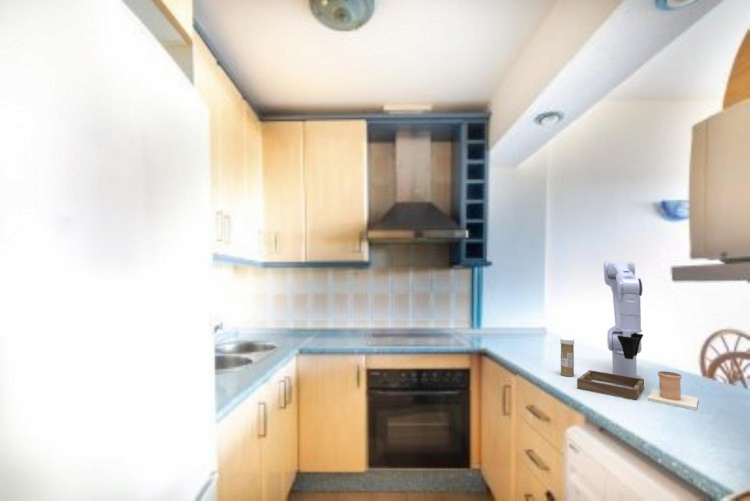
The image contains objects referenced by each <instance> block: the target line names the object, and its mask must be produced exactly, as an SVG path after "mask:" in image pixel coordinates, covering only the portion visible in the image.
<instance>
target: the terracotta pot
mask: <svg viewBox="0 0 750 501" xmlns="http://www.w3.org/2000/svg"><path fill="white" fill-rule="evenodd" d="M657 375H658V378H659V379H658V380H659V381H658V382H659V383H658V384H659V388H658V389H659V391H660V397H662V398H665V399H669V400H681V395H682V391H681V390H682V389H681V387H682V386H681V379H682V374H681V373H677V372H673V371H665V370H662V371H661V370H660V371H657Z"/></svg>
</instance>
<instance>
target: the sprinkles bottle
mask: <svg viewBox="0 0 750 501" xmlns="http://www.w3.org/2000/svg"><path fill="white" fill-rule="evenodd" d="M559 340H560V341H559V342H560V375H561V376H564V377H575V373H574V372H575V369H574V367H575V351H574V346H575V345H574V344H575V339H574V338H572V337H560V339H559Z"/></svg>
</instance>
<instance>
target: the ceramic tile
mask: <svg viewBox="0 0 750 501" xmlns="http://www.w3.org/2000/svg"><path fill="white" fill-rule="evenodd" d="M647 401H649V402H653V403H658V404H664V405H668V406H674V407H679V408H683V409H689V410H693V411H697V409H698V404H699V397H695V396H691V395H685V394H681V400H669V399H665V398H662V397H660V390H658V389H652V390H651V392H650V394H649V395H648V396H647Z"/></svg>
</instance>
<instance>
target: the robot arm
mask: <svg viewBox="0 0 750 501" xmlns="http://www.w3.org/2000/svg"><path fill="white" fill-rule="evenodd" d="M635 275H636V265H635V263H634V262H633V260H630V261H607V260H606V261H604V262H603V276H604V283H605V284H606V285H607V286H609V287H610V290H611V291H612V292H611V293H612V303H613V313H614V322H615V323H614V324H615V325H613V326H611V327H610V328H609V329H608V330H607V348H608V350H609V351H611V355H612V374H616V375H621V376H627V377H633V378H639V379H641V375H638V373H637V371H638V370H637V367H638V366H637V356H638V354H640V353H641V352H642V339H643V337H644V334H642V332H643V330H642V322H641V320H642V317H641V314H642V313H641V308H642V307H641V297H642V295H643V288H644V287H643V282H642V279H641V278H639V277H638V278H636V276H635Z"/></svg>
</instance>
